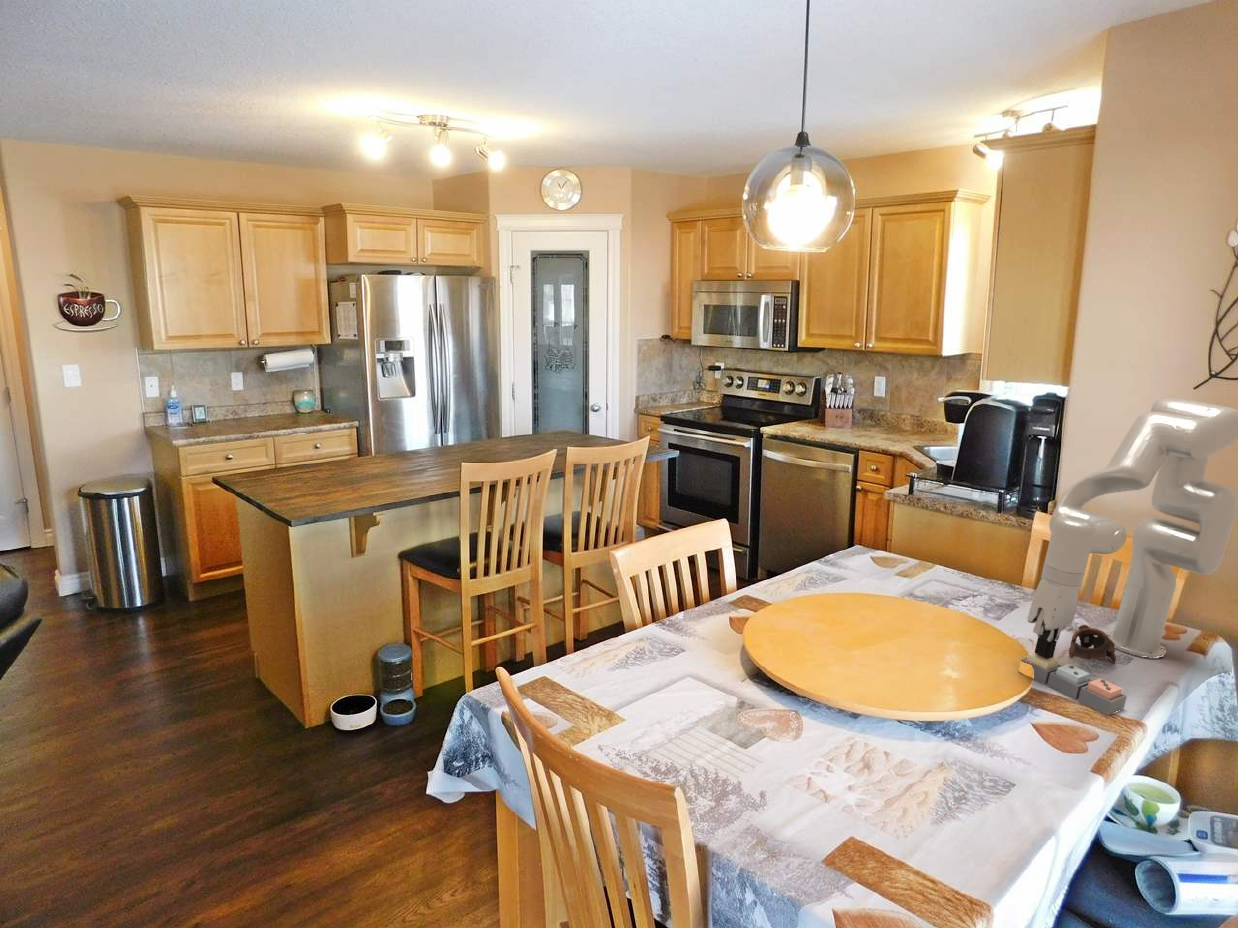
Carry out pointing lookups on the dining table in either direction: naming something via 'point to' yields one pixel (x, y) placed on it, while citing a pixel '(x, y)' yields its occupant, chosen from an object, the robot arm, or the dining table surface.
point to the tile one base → (1041, 672)
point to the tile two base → (1065, 686)
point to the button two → (1073, 674)
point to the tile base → (1101, 701)
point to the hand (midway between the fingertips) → (1043, 655)
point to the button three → (1104, 689)
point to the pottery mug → (1101, 644)
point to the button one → (1042, 661)
